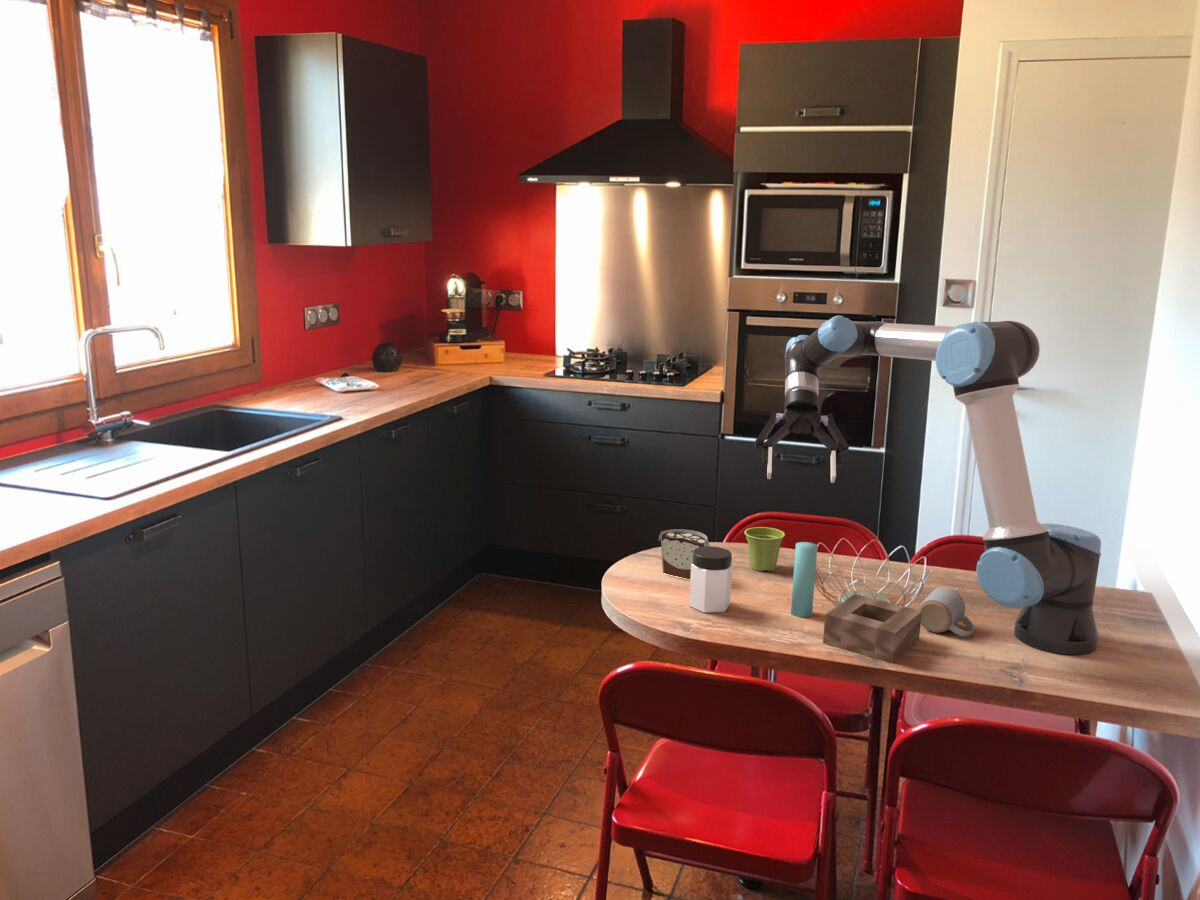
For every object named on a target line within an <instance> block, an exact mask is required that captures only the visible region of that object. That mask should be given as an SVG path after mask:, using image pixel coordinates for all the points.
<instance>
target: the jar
mask: <svg viewBox="0 0 1200 900" xmlns="http://www.w3.org/2000/svg"><path fill="white" fill-rule="evenodd" d="M732 556H733V554H732V552H731V551H730V550H728V549H727V548H724V547H719V546H710V545H709V546H706V547H699V548H696V549H695V550H694V551H693V563H692V565H691V577H690V581H689V582H690V583H689V599H688V601H689V603H688V607H690V608H692V607H693V609H695V610H698V611H699V612H702V613H703V614H704V613H706V614H708V613H710V614H711V613H712V614H713V613H725V612H726V610H727V609H728V608H729V606H730V605H731V593H732V575H733V574H732V573H733V563H732V561H733V558H732Z"/></svg>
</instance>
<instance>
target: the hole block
mask: <svg viewBox="0 0 1200 900" xmlns="http://www.w3.org/2000/svg"><path fill="white" fill-rule="evenodd" d="M921 616H922V611H920V610H919V609H915V608H911V607H907V606H904V605H899V604H895V603H892V602H888V601H883V600H880V599H876V598H872V597H867V596H864V595H860V594H857V593H854V594H853V595H850V597H847V598H846V599H845V600H843V601H842V602H841V603H839V604H838V605H836V606H835V607H833V608H832V609H831V610H829V611H827V612H826V613H825V614H824V626H823V636H822V637H823V638H822V639H823V640H822V644H826V645H829V646H833V647H835V648H840V649H842V650H843V649H844V650H846V651H847V650H848V651H850V652H853V653H857V654H860V655H864V656H867V657H871V658H874V659H877V660H881V661H885V662H887V663H891V664H893V663H894V662H895V661H896V660H898V659H899V658H900V657H901V656H902V655H904V653H906V652H907V651H908V650H907V649H910V648H911V647H912V646H914V645H915V644H916V643H917V642H918V641H919V640H920V634H921V625H922V624H921ZM917 640H918V641H917ZM916 641H917V642H916ZM915 642H916V643H915ZM906 650H907V651H906Z"/></svg>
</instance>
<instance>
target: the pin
mask: <svg viewBox="0 0 1200 900" xmlns="http://www.w3.org/2000/svg"><path fill="white" fill-rule="evenodd" d="M794 549H795V551H794V561H793V562H794V563H793V577H792V579H793V580H792V592H791V606H790V613H791V615H793V616H794V617H797V618H803V619H804V618H810V617H812V616H813V609H814V598H815V596H814V595H815V584H816V572H817V571H816V568H817V555H818V545H817V544H815V543H813V542H809V541H800V542H796V543H795V548H794Z"/></svg>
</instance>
